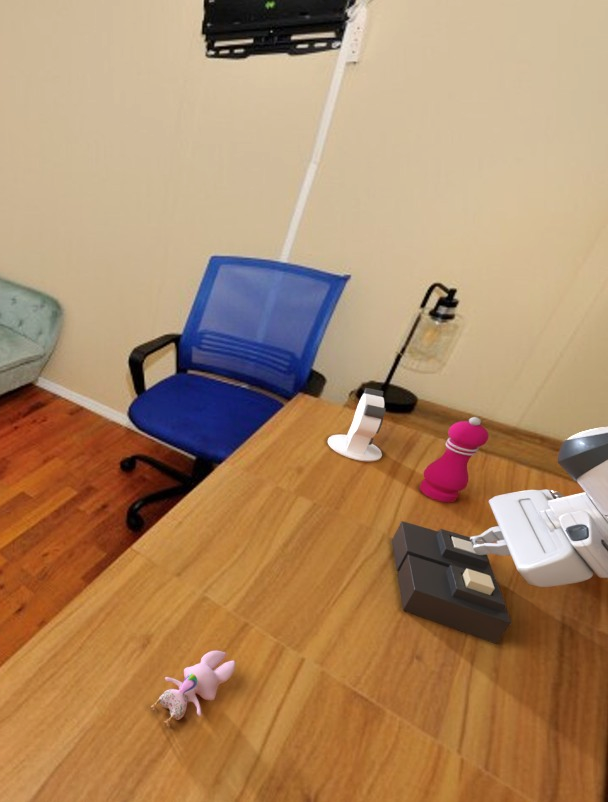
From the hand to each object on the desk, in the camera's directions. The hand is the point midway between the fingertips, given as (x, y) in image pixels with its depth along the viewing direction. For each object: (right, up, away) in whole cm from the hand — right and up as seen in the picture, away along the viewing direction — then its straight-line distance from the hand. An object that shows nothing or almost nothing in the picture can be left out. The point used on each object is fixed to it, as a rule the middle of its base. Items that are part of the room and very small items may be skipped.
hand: (473, 546), depth 90 cm
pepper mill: (+15, +4, +24) cm, 28 cm away
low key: (-1, -2, +2) cm, 3 cm away
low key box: (-2, -6, +5) cm, 8 cm away
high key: (-6, -4, -6) cm, 10 cm away
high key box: (-8, -10, -2) cm, 13 cm away
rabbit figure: (-56, -17, -14) cm, 61 cm away
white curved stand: (+9, +12, +39) cm, 42 cm away
